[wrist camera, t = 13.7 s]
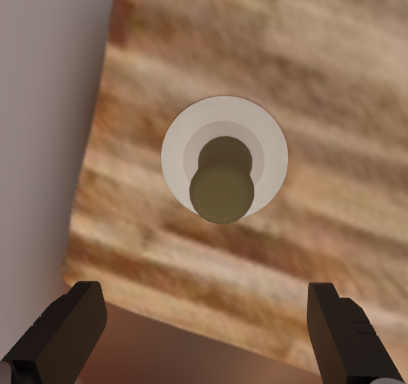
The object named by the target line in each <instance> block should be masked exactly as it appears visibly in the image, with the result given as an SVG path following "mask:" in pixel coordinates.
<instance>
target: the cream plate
mask: <svg viewBox="0 0 408 384" xmlns="http://www.w3.org/2000/svg"><path fill="white" fill-rule="evenodd" d="M219 136H230V137H234V138H237V139H239V140H240V141H242V142H243V143H244V144H245V145H246V146H247V147H248V149H249V150H250V153H251V156H252V169H251V173H250V176H251V179H252V181H253V184H254V199H253V202H252V205H251V207H250V209H249V210H248V211H247V213H246V214H245V215H244V216H243V217H246V216H249V215H251V214H253V213H255V212H257V211H258V210H260V209H261V208H263V207H264V206H265V205H267V204H268V203H269V202H270V201H271V200H272V199H273V198H274V196H275V195H276V194H277V192H278V191H279V189H280V187H281V185H282V184H283V181H284V178H285V176H286V171H287V166H288V150H287V144H286V141H285V138H284V135H283V133H282V131H281V129H280V127H279V125H278V124H277V122H276V121H275V120H274V119H273V117H272V116H271V115H270V114H269V113H268V112H266V111H265V110H264V109H263V108H262V107H260V106H258V105H257V104H255V103H253V102H251V101H249V100H246V99H243V98H239V97H234V96H216V97H210V98H207V99H204V100H201V101H199V102H196V103H194V104H193V105H191V106H189V107H188V108H186V109H185V110H184V111H183V112H182V113H180V114H179V115H178V117H177V118H176V119H175V120H174V121H173V123H172V124H171V126H170V127H169V129H168V131H167V133H166V135H165V138H164V141H163V146H162V152H161V164H162V170H163V175H164V178H165V181H166V183H167V185H168V187H169V189H170V190H171V192H172V193H173V195H174V196H175V197H176V198H177V200H178V201H179V202H180V203H182V204H183V205H184V206H185V207H186V208H188V209H189V210H191V211H193V212H194V213H196V214H198V213H197V212H196V211H195V210H194V208H193V206H192V203H191V201H190V195H189V187H190V183H191V179H192V178H193V176H194V174H195V173H196V171H197V170H198V158H199V154H200V151H201V150H202V148H203V147H204V145H205V144H206V143H208V142H209V141H210V140H211V139H214V138H217V137H219ZM198 215H199V214H198ZM243 217H242V218H243Z"/></svg>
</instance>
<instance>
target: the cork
mask: <svg viewBox="0 0 408 384" xmlns="http://www.w3.org/2000/svg"><path fill="white" fill-rule="evenodd" d="M251 169H252V156H251V153H250V150H249V149H248V147H247V146H246V145H245V144H244V143H243V142H242V141H240V140H239V139H237V138H234V137H230V136H219V137H217V138H214V139H211V140H210V141H209V142H208V143H206V144H205V145H204V147H203V148H202V150H201V151H200V154H199V158H198V170H197V171H196V173H195V174H194V176H193V178H192V179H191V183H190V187H189V195H190V201H191V203H192V206H193V208H194V210H195V211H196V212H197V213H198V214H199V215H200V217H202V218H204V219H205V220H207V221H209V222H212V223H216V224H228V223H231V222H235V221H237V220H239V219H240V218H242V217H243V216H244V215H245V214H246V213H247V211H248V210H249V209H250V207H251V205H252V202H253V199H254V184H253V181H252V179H251V176H250V173H251Z"/></svg>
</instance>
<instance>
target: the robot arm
mask: <svg viewBox="0 0 408 384" xmlns="http://www.w3.org/2000/svg"><path fill="white" fill-rule="evenodd" d="M106 322H107V310H106V306H105V302H104V298H103V293H102V289H101V285H100V283H99V282H98V281H78V282H77V283H76V284H75V285H74V286H73V287H72V288H71V289H70V291H69V292H68V293H67V294H64V295H62V296H61V297H59V298H58V299H57V300H55V301H54V302H52V303H51V304H50V305H49V306H48V307H47V308H46V310H45V311H44V312H43V313H42V314H41V317H39V318H38V319H37V320H36V321H35V322H34V324H33V326H31V327H30V328H29V329H28V330H27V331H26V332H25V334H24V335H23V336H22V337H21V338H20V339H19V340H18V342H17V343H16V344H15V345H14V346H13V347H12V348H11V350H10V351H9V352H8V353H7V354H6V355H5V356H4V358H3V359H2V360H1V361H0V384H74V383H75V381H76V379H77V377H78V375H79V374H80V372H81V370H82V368H83V367H84V365H85V363H86V361H87V359H88V357H89V356H90V354H91V352H92V350H93V348H94V347H95V345H96V343H97V341H98V340H99V338H100V336H101V334H102V332H103V331H104V328H105V326H106ZM307 326H308V332H309V337H310V340H311V343H312V347H313V350H314V354H315V357H316V360H317V364H318V367H319V370H320V374H321V377H322V381H323V384H406V383H405V382H404V380H403V379H402V377H401V375H400V373H399V372H398V370H397V368H396V366H395V365H394V363H393V361H392V359H391V358H390V356H389V354H388V353H387V351H386V349H385V347H384V346H383V344H382V342H381V340H380V339H379V337H378V336H377V335H376V332H375V330H374V328H373V326H372V325H371V324H370V321H369V319H368V318H367V316H366V314H365V313H364V311H363V309H362V308H361V307H360V306H359V305H357V304H356V303H355V302H354V301H353V300H352V299H350V298H340V297H339V295H338V293H337V291H336V289H335V287H334V285H333V284H332V283H309V286H308V303H307Z"/></svg>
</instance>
